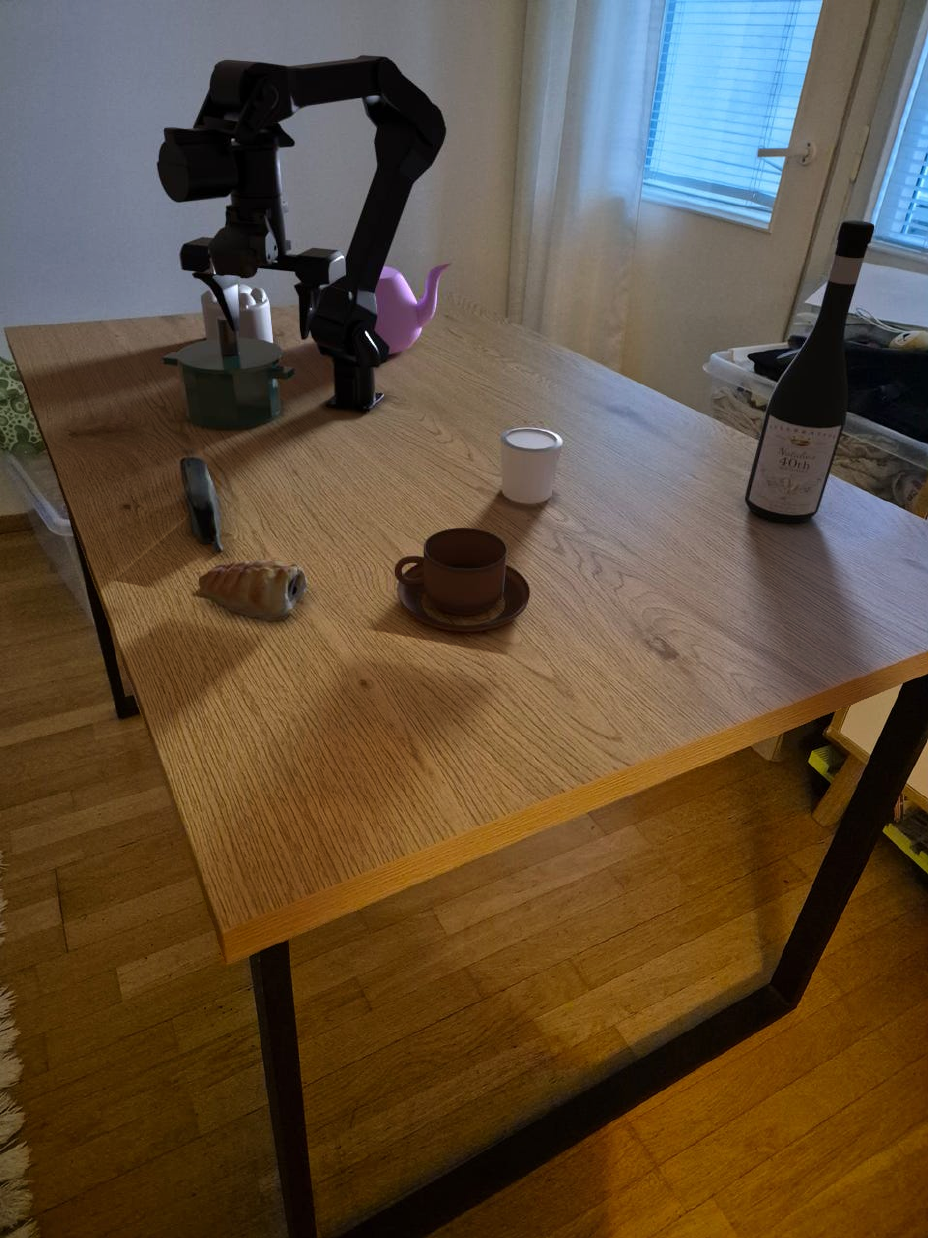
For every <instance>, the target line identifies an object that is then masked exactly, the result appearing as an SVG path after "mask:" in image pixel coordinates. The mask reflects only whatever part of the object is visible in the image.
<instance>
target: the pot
mask: <svg viewBox="0 0 928 1238" xmlns="http://www.w3.org/2000/svg"><path fill="white" fill-rule="evenodd" d="M177 353H178V352H175V351H171V352H169V353H168V354H165V355H164V356H162V362H163V365H167V366H173V367H177V369H178V377H179V382H180V388H181V395H182V401H183V407H184V408H183V409H184V414H186V419H188V421H190V422H191V423H192V424H194V425H196V426H199V427H203V428H207V429H214V430H241V429H242V430H243V429H249V428H255V427H258V426H262V425H265V424H268V423H271V422H272V421H274V420H275V419H277V418H278V417H279V416H280V414H281V412H282V411H281V410H282V409H281V408H282V407H281V406H282V403H281V402H282V401H281V393H280V381H289V380H290V379H291V378H293V377H294V376H295V375H296V372H295V371H296V370H295V367H294V366H285V365H278V364H276V365H275V366H272V367H270V368H267V369H264V370H260V371H256V372H250V373H243V374H228V375H220V374H206V373H200V372H195V371H191V370H188V369H186V368H184V367H182V366H181V365H180V364H179V363H178V361H177ZM279 380H280V381H279Z"/></svg>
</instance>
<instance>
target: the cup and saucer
mask: <svg viewBox="0 0 928 1238" xmlns="http://www.w3.org/2000/svg"><path fill="white" fill-rule="evenodd" d="M507 557H508V547H507V545H506V543H505V542H504V540H503V539H501V537H499V536H497V535H496V534H495V533H492V532H489V531H487V530H483V529H478V528H472V527H454V528H448V529H443V530H440V531H437V532H435V533H433V534H431V535H430V536H429V537H428V538H427V539H426V540H425V542H424V543H423V556H420V555H408V556H404V557H402V558H400V560H398V561H397V562H396V564H395V566H394V576H395V578H396V580H397V581H398V583H397V587H396V588H397V589H396V590H397V591H396V592H397V597H398V599H399V602H400V604H401V606H402V607H403V608H404V610H405V611H406V612H407V613H408V614H409V615H410V616H412V617H413V618H415V619H417V620H418V621H420V622H421V623H423V624H425V625H427V626H429V627H432V628H435V629H439V630H443V631H448V632H456V633H477V632H485V631H489V630H493V629H496V628H499V627H501V626H504V625H506V624H509V623H510V622H511V621H513V620H515V619H516V618H518V617H519V616H521V614H522V613H523V612H524V611H525V609H526V607H527V606H528V604H529V601H530V597H531V589H530V586H529V583H528V581H527V580H526V579H525V577H524V576H523V575H522V574H521V573H520V572H519V571H518V570H516V569H515V568H513V567H512V566H510V565H508V564H507ZM409 564H415V565H413V566H411V567H409V568H408V569H407V570H405V572H404V573H403V572H402V571H403V568H404V567H405V566H406V565H409ZM424 594H425V596H426V597H427V598H428V600H429V601H430V602H431V603H432V604H433V605H434V606H435V607H436V608H438V609H439V610H441V611H443V612H445V613H447V614H452V615H454V616H475V615H479V614H481V613H484V612H487V611H488V610H490V609H491V608H493V607H494V606H495V605H496V604H497V602H498V601H500V599H501V598H502V597H503V600H504V607H503V609H502V611H501V612H500V614H498V615H497V616H496V617H495V618H492V619H491V620H488V621H485V622H482V623H477V624H466V625H465V624H464V625H463V624H454V623H450V622H449V623H448V622H445V621H441V620H439V619H437V618H435V617H433V616H432V615H430V614H429V613H428V612H427V611H426V610H425V608H424V607H423V604H422V598H423V595H424Z"/></svg>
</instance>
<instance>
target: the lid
mask: <svg viewBox="0 0 928 1238" xmlns="http://www.w3.org/2000/svg"><path fill="white" fill-rule="evenodd" d="M216 320H217V327H218V335H219V339H212V340H207V339H206V340H202V341H197V342H194V343H191V344H189V345H186V346H184V347H182V348H181V349H179V350H178V351H177V352H176V353H177V361H178V363H179V364H180V365H181V366H182V367H184V368H186V369H188V370H191V371H195V372H200V373H206V374H220V375H228V374H243V373H250V372H256V371H260V370H264V369H267V368H270V367H272V366H275V365H276V364H277V365H278V364H280V363H281V362H282V360H283V359H284V350H283V349H282V347H281V346H279V345H278V344H276V343H274V342H273V343H271V342H268V341H264V340H259V339H251V338H238V332H237V331H236V332H234V331H232V330H231V328H230V326H229V323H228V321H227V319H226V317H225V315H222V316H218V317H217V318H216Z"/></svg>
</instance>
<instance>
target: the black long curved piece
mask: <svg viewBox="0 0 928 1238" xmlns="http://www.w3.org/2000/svg"><path fill="white" fill-rule="evenodd" d="M179 467H180V474H181V479H182V486H183V493H184V495H185V500H186V504H187V510H188V515H189V523H190V528H191V531H192V535H193V537H194V538H195V539H196V540H197V541H198V542H199V543H201V544H202V545H203V544H210V545H212V546H213V547H214V550H215V552H216V553H217V554H218V553H219V554H220V553H223V551H224V549H223V547H222V544H221V542H220V535H221V529H220V522H221V514H220V508H219V506H220V505H219V501H218V500H219V499H218V495H217V492H216V488H215V485H214V482H213V481H212V479H211V476H210V473H209V469H208V467H207V465H206V463H205V461H204V459H202V458H200V457H196V456H187V457H182V458H180V460H179Z"/></svg>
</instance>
